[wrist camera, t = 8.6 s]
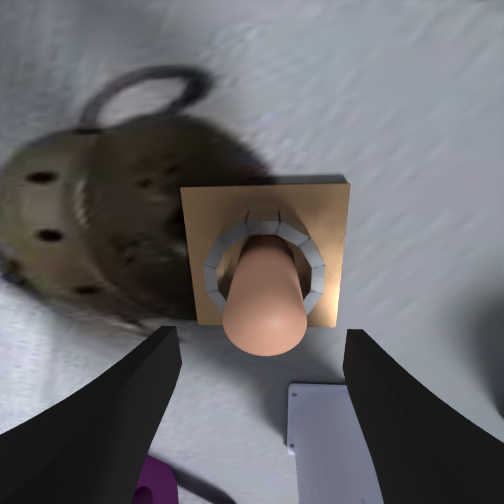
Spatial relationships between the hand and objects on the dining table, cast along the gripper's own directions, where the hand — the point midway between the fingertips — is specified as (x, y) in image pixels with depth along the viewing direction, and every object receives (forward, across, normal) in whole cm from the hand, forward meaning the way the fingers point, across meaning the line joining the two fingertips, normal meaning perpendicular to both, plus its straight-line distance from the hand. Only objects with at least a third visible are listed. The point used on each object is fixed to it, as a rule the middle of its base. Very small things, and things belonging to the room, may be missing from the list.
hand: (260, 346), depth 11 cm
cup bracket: (+9, 0, 0) cm, 9 cm away
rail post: (+8, 0, 0) cm, 9 cm away
